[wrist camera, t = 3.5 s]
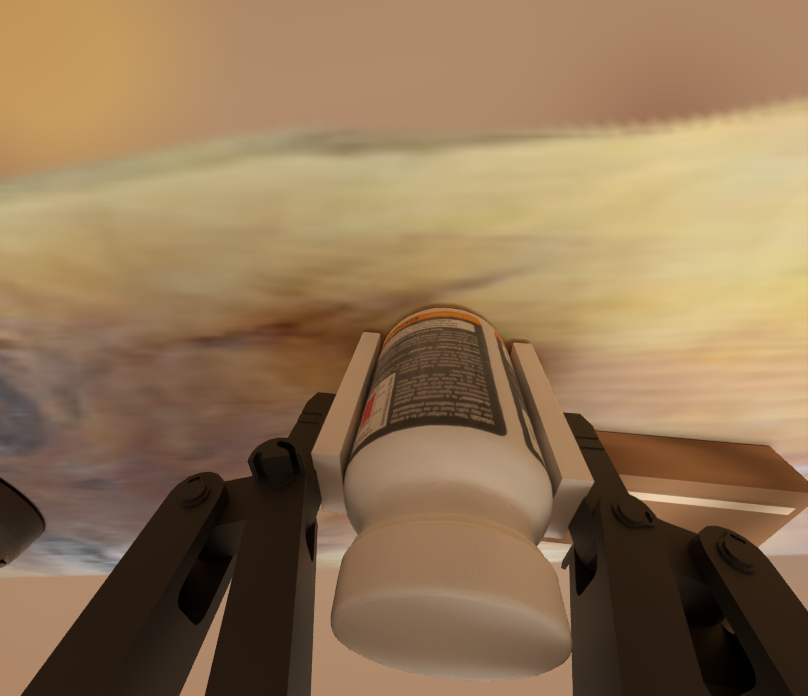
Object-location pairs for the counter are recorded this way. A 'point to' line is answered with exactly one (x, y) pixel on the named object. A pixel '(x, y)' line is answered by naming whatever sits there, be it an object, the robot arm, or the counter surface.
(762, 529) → the plank
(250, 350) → the counter surface
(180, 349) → the counter surface
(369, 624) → the pill bottle
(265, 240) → the counter surface
